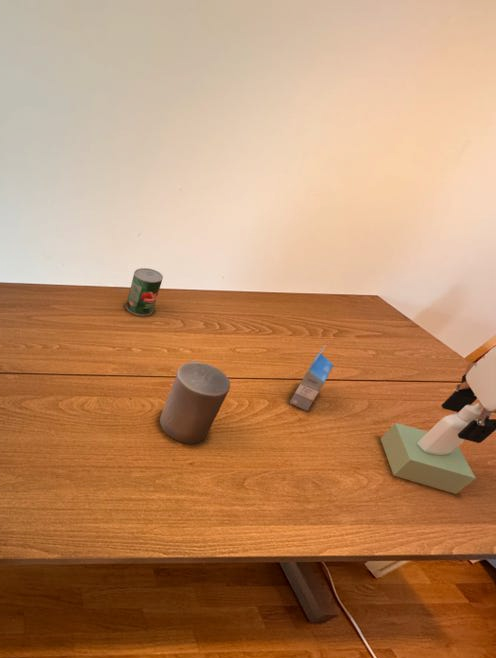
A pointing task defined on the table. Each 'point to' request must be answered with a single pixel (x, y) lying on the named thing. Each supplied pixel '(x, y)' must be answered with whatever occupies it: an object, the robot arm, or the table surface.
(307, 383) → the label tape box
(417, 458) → the block
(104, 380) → the table surface
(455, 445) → the eye dropper bottle
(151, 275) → the canned tomato
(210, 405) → the pillar candle
